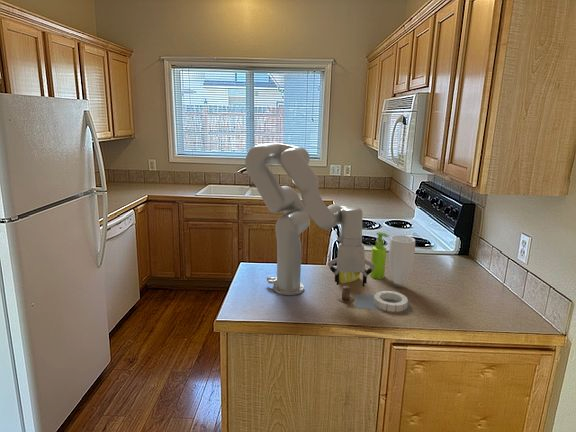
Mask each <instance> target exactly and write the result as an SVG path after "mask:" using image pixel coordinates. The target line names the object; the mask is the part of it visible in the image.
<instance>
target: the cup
mask: <svg viewBox="0 0 576 432" xmlns="http://www.w3.org/2000/svg"><path fill="white" fill-rule="evenodd" d="M415 253H416V239H415V238H414V237H412V236H408V235H403V234H401V235H400V234H399V235H393V236H390V240H389V248H388V265H389V272H390V277H391V279H392V282H393V283H394V284H396V285H405V284H406V282H407V280H408V279H409V276H410V275H411V271H412V267H413V265H414V261H415V260H414V259H415Z"/></svg>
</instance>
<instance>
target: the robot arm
mask: <svg viewBox="0 0 576 432" xmlns="http://www.w3.org/2000/svg"><path fill="white" fill-rule="evenodd" d="M310 159H311V157H310V153H309V152H308V151H307V149H305V148H304V147H301V146H296V145H292V144H291V145H290V144H284V143H281V142H268V143H259V144H257V145H254V146H252V147H251V148H250V149H249V150H248V152H247V153H246V156H245V171H246V172H247V175H248V176H249V178H250V179H251V181H252V183H253V184H254V185H255V188H256V189H257V190H256V191H257V192H258V193H259V195H260V197H261V199H262V201H263V202H264V204H265V206H266V208H267V209H268V211H269V212H271V213H272V214H279V213H282V212H283V214H282V215H281V216H280V217H278V218H277V220H276V223H275V226H274V228H275V230H274V231H275V237H276V276H274V277H272V276H267V277H266V282H268V284H270V285H271V284H273V285H272V289H273V292H275V293H277V294H278V295H283V296H296V295H299V294H301V293H302V292H304V290H305V286H304V284H303V283H302V282H301V271H302V268H301V266H302V242H301V239H300V234H301V233H303V232H304V231H305V230H307V229H308V228H309V226H310V224H311V220H312V221H313V222H314V223H315V224H316V226H318V227H319V228H320V229H322V230H326V231H327V230H331V229H333V228H334V227H336V226H338V225H340V228H341V229H340V230H341V231H340V235H341V236H339V237H338V236H337V238H336V240H337V241H338V242H339V244H338V248H337V257H336V258H334V259H332V260H329V261H328V262H327V266H328V268H329V270H330V271H331V272H332V273H333V275H334V282H335V283H336V286H339V284H340V283H339V272H340V271H342V272H360V273H361V274H362V287H366V286H365V285H367V284H368V283H367V281H368V280H367V279H368V276H369V275H371V272H372V270H373V269H374V267H375V264H373V263H372V262H371V261H370V260H367V259H366V255H365V254H366V250H365V247H364V246H365V245H364V243H363V210H362V209H361V208H360V207H357V206H345V205H341V204H335V203H334V204H333V203H332V204H330V205H326V203H325V201H324V199H322V197H321V196H322V195H321V194H320V190H319V184H320V183H319V182H320V179H319V176H318V175H317V174H316V173H315V171H314V170H313V169H312V167H311V166H310V165H309V163H310ZM275 164H276V165H280V166H281V167H282V169H283V170H284V172H285V173H286V174H287V176H288V177H289V178H290V179H291V181H292V183H293V184H294V185H295V187H296V188H297V189H298V192H299V193H300V196H301V197H300V196H299V194H298V193H297V191H296V190H295V189H294V188H293V187H291V186H288V185H282V186H281V184H280V183H279V181H278V180H277V178H276V176H275V175H274V173H273V172H272V171H271V170H270V169H269V168H268V166H272V165H275ZM334 264H336V268H335V266H334ZM366 265H367V266H368V267H369V268H368V269H366Z"/></svg>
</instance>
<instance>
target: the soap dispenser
mask: <svg viewBox="0 0 576 432" xmlns="http://www.w3.org/2000/svg"><path fill="white" fill-rule="evenodd" d="M376 235H377V236H378V237H377V239H376V240H375V246H372V249H371V250H372V251H371V261H370V262H372V263H373V264H375V267H374V269H373V270H372V272H371V273H370V274H369V275H370V277H372V279H378V280H381V279H384V278H385V270H386V269H385V266H386V257H387V256H386V255H387V247H384V245H385V240H384V239H383V237H385V238H387V237H390V235H389V234H388V233H384V232H381V231H380V232H379V231H378V232H376Z"/></svg>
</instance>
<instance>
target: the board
mask: <svg viewBox="0 0 576 432" xmlns="http://www.w3.org/2000/svg"><path fill="white" fill-rule="evenodd" d="M374 295H375V294H365V293H355V299H354V308H356V309H365V310H374V311H383V312H388V311H387V310H386V311H385V310H382V309H380V308H378V307H377V306H375V305H374ZM407 299H408V306H407V308H406V309H405V310H404V311H399V312H398V313H399V314H400V313H401V314H410V315H411V314H412V311H411V306H410V305H411V304H410V300H409V298H407ZM383 301H386V302H390V303H397V302H398V301H396V300H393V299H383ZM389 312H390V313H391V311H389ZM394 313H397V312H396V311H395V312H394Z"/></svg>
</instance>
